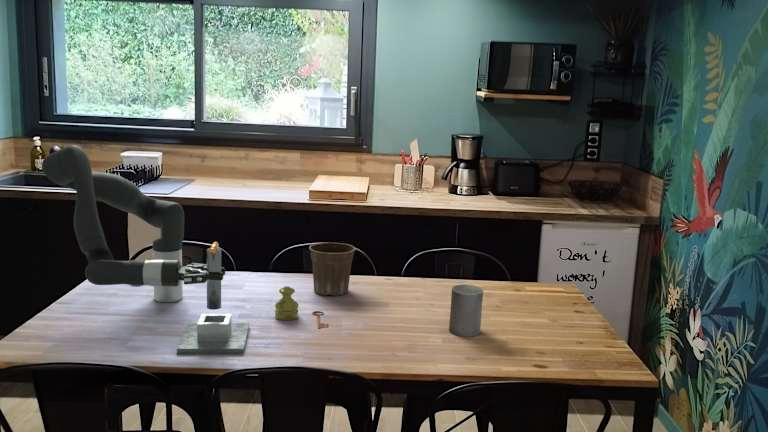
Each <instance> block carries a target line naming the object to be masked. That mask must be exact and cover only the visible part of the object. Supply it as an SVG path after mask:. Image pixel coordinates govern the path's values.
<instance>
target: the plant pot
mask: <svg viewBox="0 0 768 432" xmlns="http://www.w3.org/2000/svg"><path fill="white" fill-rule="evenodd" d="M308 247H309V251H310V259H311V263H312V277H313V278H312V280H313V292H314V293H316V294H318V295H321V296H329V295H330V296H332V297H336V296H337V297H339V296H343V295H346V294H348V292H349V288H350V287H349V284H350V277H351V270H352V262H353V259H354V253H355V251H356V247H355V246H354V245H351V244H348V243H342V242H319V243H314V244H311V245H309V246H308Z"/></svg>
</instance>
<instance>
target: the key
mask: <svg viewBox="0 0 768 432" xmlns="http://www.w3.org/2000/svg"><path fill="white" fill-rule="evenodd" d="M311 314H312V315H314V316H317V317H316V319H317V329H319V330H320V329H329V326H330V323H325V322H324V323H323V322H321V316H324V315H325V312H323V311H319V310H316V311H312V312H311Z"/></svg>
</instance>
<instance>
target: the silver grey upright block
mask: <svg viewBox="0 0 768 432" xmlns="http://www.w3.org/2000/svg"><path fill="white" fill-rule="evenodd" d="M219 246H220V245H219V242H218V241H214V242H213V243H212V244H211V246H210V247H209V248H207V249H206V264H207V271H208V272H209V273H210V272H221V268H222V249H221V248H219ZM206 308H207V309H208V310H213V311H215V310H220V309H222V280H210V279H209V281H206Z"/></svg>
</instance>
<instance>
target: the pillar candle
mask: <svg viewBox="0 0 768 432" xmlns="http://www.w3.org/2000/svg"><path fill="white" fill-rule="evenodd" d="M450 296H451V298H450V299H451V300H450V313H449V326H448V332H450V333H451V334H453V336H454V335H455V336H458V337H465V338H470V337H471V338H472V337H477V336H478V335H479V334H480V333H481V327H482V325H481V323H482V312H483V310H482V309H483V299H484V288H481V286H477V285H473V284H457V285H453V286H452V288H451V294H450Z"/></svg>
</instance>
